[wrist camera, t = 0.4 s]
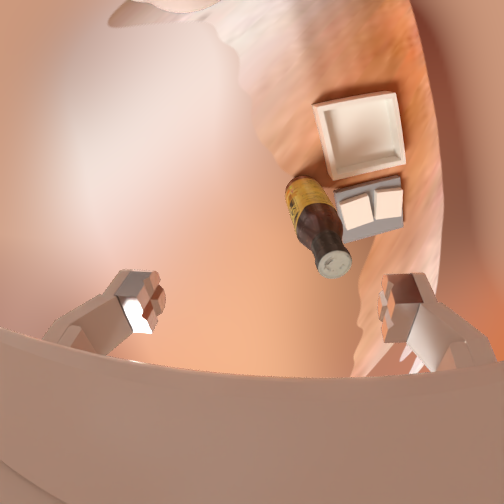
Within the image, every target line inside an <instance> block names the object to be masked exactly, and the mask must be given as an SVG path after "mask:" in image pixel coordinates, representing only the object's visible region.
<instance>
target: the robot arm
mask: <svg viewBox="0 0 504 504" xmlns="http://www.w3.org/2000/svg"><path fill="white" fill-rule="evenodd" d="M132 1H136V2H147V3H150V4H152V5H154V6H156V7H158V8H160V9H162V10H165V11H169V12H174V13H189V12H195V11H199V10H203V9H205V8H208V7H210V6H212V5H214V4H216V3H217V2H219V1H220V0H132ZM159 282H160V277H159V274H158V272H156V271H147V270H129V269H123V270H120V271H119V273H118V274H117V275H116V277H115V278H114V279H113V281H112V282H111V283H110V285H109V286H108V287H107V289H106V290H105V292H104V293H103V294H102V295H101V294H99V295H97V296H96V297H94V298H92V299H90V300H89V301H87V302H85V303H84V304H82V305H80V306H78V307H77V308H75V309H73V310H72V311H70V312H68V313H67V314H65V315H63V316H62V317H60V318H58V319H57V320H55V321H54V322H53V324H52V325H51V326H50V328H49V329H48V331H47V332H46V333H45V335H44V336H43V338H42V339H38V338H34V337H31V336H28V335H24V334H21V333H18V332H15V331H12V330H9V329H5V328H2V327H0V504H504V361H500V362H497V359H496V357H495V355H494V352H493V350H492V347H491V345H490V343H489V340H488V338H487V337H486V336H485V335H484V334H482V333H481V332H480V331H478V330H477V329H476V328H475V327H473V326H472V325H471V324H469V323H468V322H467V321H465V320H464V319H463V318H462V317H460V316H459V315H458V314H456V313H455V312H454V311H452V310H451V309H450V308H448V307H447V306H446V305H444V304H443V303H438V301H437V299H436V297H435V294H434V292H433V290H432V288H431V286H430V283H429V281H428V279H427V277H426V275H425V274H424V273H410V274H384V275H383V278H382V283H381V284H382V288H383V290H382V291H381V292H380V293H379V298H378V316H379V320H380V321H382V322H383V323H382V327H381V331H382V336H383V341H384V343H398V342H399V343H400V342H407V343H406V344H407V345H408V346H409V347H410V348H411V349H412V351H413V352H414V353H415V354H416V355H417V356H418V357H419V359H420V360H421V361H422V362H423V363H424V364H425V365H426V367H427V368H428V369H429V370H430V371H431V372H427V373H416V374H405V375H392V376H376V377H349V378H300V377H272V376H254V375H240V374H228V373H217V372H208V371H199V370H190V369H182V368H175V367H168V366H161V365H155V364H149V363H142V362H137V361H131V360H126V359H120V358H116V357H111V356H106V355H107V354H109V353H110V352H111V351H112V350H113V349H114V348H116V347H117V346H118V345H119V344H120V343H121V342H123V341H124V340H125V339H126V338H127V337H129V336H130V335H131V334H132V333H133V332H141V333H153V330H154V329H155V326H156V324H157V322H158V319H157V316H158V315H160V314H161V313H162V312H163V310H164V308H165V303H166V297H165V292H164V289H163V288H162V287H161V286H160V285H159Z"/></svg>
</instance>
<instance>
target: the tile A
mask: <svg viewBox="0 0 504 504" xmlns="http://www.w3.org/2000/svg"><path fill="white" fill-rule="evenodd" d="M339 206H340V209H341V213H342V217H343V220H344V224H345V227H346V229H347V230H350V229H353V228H356V227H358V226H361V225H364V224H367V223H370V222H372V221H374V220H373V215H372V210H371V206H370V201H369V197H368V195H367V194H366V193H364V194H361V195H358V196H355V197H352V198H349V199H347V200H344V201H341V202H339Z"/></svg>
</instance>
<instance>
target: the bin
mask: <svg viewBox="0 0 504 504" xmlns="http://www.w3.org/2000/svg"><path fill="white" fill-rule="evenodd" d="M312 109H313V112H314V116H315V120H316V124H317V128H318V132H319V136H320V141H321V145H322V149H323V153H324V158H325V162H326V167H327V172H328V174H329V176H330V177H331V178H332V180H333V181H335V180H339V179H343V178H347V177H351V176H356V175H360V174H364V173H368V172H372V171H376V170H381V169H385V168H389V167H394V166H398V165H403V164H406V158H405V149H404V141H403V134H402V127H401V120H400V114H399V108H398V102H397V96H396V93H395V92H390V91H380V92H374V93H368V94H362V95H356V96H351V97H345V98H340V99H335V100H330V101H325V102H321V103H316V104H312Z"/></svg>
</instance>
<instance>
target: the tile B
mask: <svg viewBox="0 0 504 504" xmlns="http://www.w3.org/2000/svg"><path fill="white" fill-rule="evenodd" d="M402 201H403V190H402V189H401V188H390V189H380V190H374V218H375V219H376V220H377V219H385V218H393V217H400V216H401V214H402Z"/></svg>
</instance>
